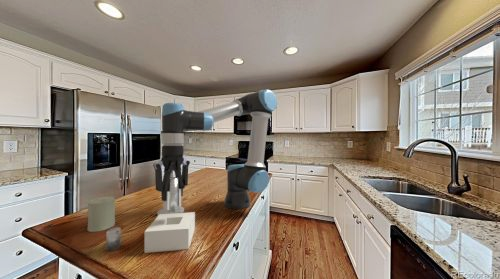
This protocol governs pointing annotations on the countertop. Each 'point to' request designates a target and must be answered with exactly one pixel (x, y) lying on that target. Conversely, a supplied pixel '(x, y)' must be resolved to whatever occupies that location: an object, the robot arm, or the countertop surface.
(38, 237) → the countertop surface
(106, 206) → the can
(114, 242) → the short pin
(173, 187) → the long pin
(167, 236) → the hole block
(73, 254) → the countertop surface
